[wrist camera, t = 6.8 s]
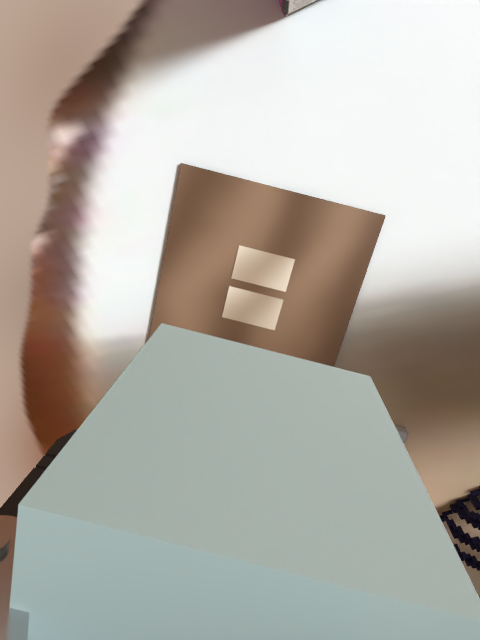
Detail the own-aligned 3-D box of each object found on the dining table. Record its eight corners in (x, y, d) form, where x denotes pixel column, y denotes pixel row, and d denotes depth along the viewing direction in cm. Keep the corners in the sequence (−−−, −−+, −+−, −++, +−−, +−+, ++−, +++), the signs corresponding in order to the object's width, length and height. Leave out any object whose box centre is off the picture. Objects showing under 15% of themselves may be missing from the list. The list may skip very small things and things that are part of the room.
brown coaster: (384, 215, 29) (385, 215, 28) (322, 394, 33) (323, 397, 33) (182, 163, 28) (181, 163, 28) (147, 350, 33) (146, 352, 33)
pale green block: (370, 376, 12) (492, 624, 5) (308, 538, 14) (340, 871, 7) (161, 323, 12) (17, 503, 5) (129, 492, 14) (-7, 783, 7)
